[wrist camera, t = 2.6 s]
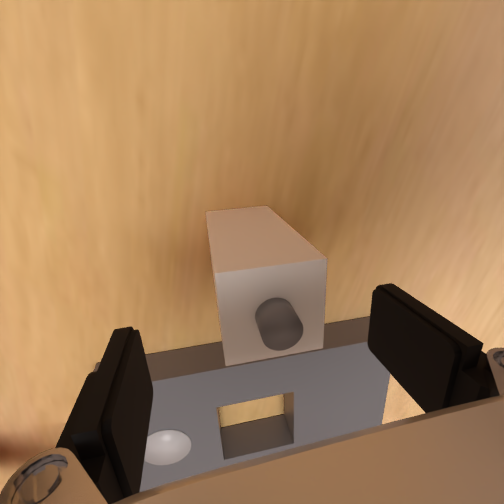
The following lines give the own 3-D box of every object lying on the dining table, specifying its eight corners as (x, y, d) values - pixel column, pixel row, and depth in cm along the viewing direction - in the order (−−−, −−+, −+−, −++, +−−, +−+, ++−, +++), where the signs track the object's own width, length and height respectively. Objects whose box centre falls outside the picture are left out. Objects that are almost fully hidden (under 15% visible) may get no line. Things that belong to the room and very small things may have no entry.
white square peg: (267, 205, 20) (342, 271, 10) (268, 261, 22) (335, 367, 11) (205, 211, 19) (216, 289, 9) (212, 268, 21) (228, 389, 11)
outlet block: (375, 315, 26) (397, 337, 23) (361, 421, 31) (377, 449, 28) (96, 363, 22) (82, 395, 19) (134, 474, 27) (127, 512, 24)
